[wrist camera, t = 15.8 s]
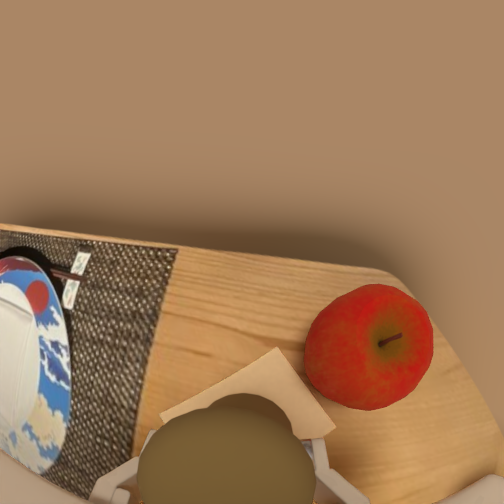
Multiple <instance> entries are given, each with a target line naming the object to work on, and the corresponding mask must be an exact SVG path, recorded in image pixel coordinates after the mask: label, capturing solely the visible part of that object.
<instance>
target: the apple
mask: <svg viewBox="0 0 504 504" xmlns="http://www.w3.org/2000/svg"><path fill="white" fill-rule="evenodd" d="M432 357H433V328H432V325H431V323H430V320H429V317H428V314H427V312H426V310H425V309H424V308H423V307H422V306H421V305H420V303H419V302H418V301H416V300H415V299H413V298H412V297H410V296H408V295H407V294H405V293H404V292H402V291H401V290H399V289H397V288H395V287H392V286H387V285H382V284H369V285H365V286H362V287H359V288H357V289H355V290H353V291H351V292H349V293H347V294H345V295H342V296H340V297H338V298H336V299H335V300H334V301H333V302H332V303H330V304H329V305H328V306H327V307H326V308H325V309H323V310H322V311H321V312H320V313H319V314H318V316H317V317H316V319H315V320H314V322H313V323H312V325H311V328H310V331H309V333H308V336H307V339H306V344H305V355H304V364H305V371H306V375H307V376H308V378H309V380H310V382H311V384H312V385H313V386H314V387H315V388H316V389H317V390H318V391H319V392H320V393H321V394H322V395H323V396H325V397H326V398H328V399H331V400H333V401H335V402H337V403H339V404H342V405H344V406H346V407H348V408H353V409H359V410H365V411H371V410H375V409H380V408H384V407H387V406H389V405H391V404H393V403H395V402H397V401H399V400H401V399H402V398H404V397H406V396H407V395H408V394H409V393H410V392H412V391H413V390H414V389H415V388H416V386H417V385H418V383H419V382H420V380H421V379H422V377H423V376H424V374H425V373H426V371H427V370H428V368H429V366H430V363H431V360H432Z"/></svg>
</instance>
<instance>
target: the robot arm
mask: <svg viewBox="0 0 504 504" xmlns="http://www.w3.org/2000/svg"><path fill="white" fill-rule="evenodd" d="M156 431H157V430H155V429H151V430H150V431H149V433H148V435H147V438H146V440H145V443H144V445H143V448H142V450H141V453H142V452H143V450H144V448H145V446H146V445H147V443H148V441H149V439H150V438H151V436H152V435H153V433H155V432H156ZM299 440H300V441H301V443H302V444H303V446H304V448H305V449H306V451H307V452H308V454H309V456H310V457H311V459H312V460H313V465H314V471H315V476H316V482H317V483H316V489H315V494H314V498H313V499H314V500H315V501H316V502H317V503H318V504H370V500H369V498H367V497H366V496H365V495H364V494H363V493H361V492H360V491H359V490H358V489H356V488H355V487H354V486H353V485H352V484H350V483H349V482H348V481H347V480H346V479H345V478H343V477H342V476H341V475H340V474H339V473H338V472H337V471H335V470H334V469H330V467H329V462H328V456H327V451H326V446H325V440H324V439H323V438H315V439H299ZM141 453H140V455H141ZM140 455H139V457H140ZM139 457H137V456H135V457H134V458H132V459H130V460H129V461H127V462H126V463H124V464H122V465H121V466H119V467H117V468H116V469H114V470H112V471H111V472H109V473H107V474H106V475H104V476H102V477H100V478H99V479H97V481H96V484H95V486H94V488H93V490H92V492H91V494H90V497H89V499H88V501H87V500H85V499H83V498H81V497H79V496H76V495H74V494H72V493H70V492H68V491H66V490H65V489H63V488H61V487H59V486H57V485H55V484H53V483H52V482H50V481H48V480H46V479H45V478H43V477H41V476H40V475H38V474H37V473H35V472H33V471H32V470H30V469H29V468H27V467H26V466H24V465H23V464H21V463H20V462H18V461H17V460H16V459H14V458H13V457H12V456H10V455H9V454H8V453H6V452H5V451H4V450H2V449H1V448H0V504H140V503H139V502H140V501H142V498H141V494H140V490H139V487H138V483H137V470H138V462H139ZM433 504H504V477H501V476H498V475H495V474H489V475H486V476H485V477H483V478H481V479H480V480H478V481H476V482H474V483H473V484H471V485H469V486H467V487H466V488H464V489H462V490H460V491H458V492H456V493H454V494H452V495H450V496H448V497H446V498H444V499H442V500H439V501H437V502H435V503H433Z"/></svg>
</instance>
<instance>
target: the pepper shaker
mask: <svg viewBox="0 0 504 504" xmlns="http://www.w3.org/2000/svg"><path fill="white" fill-rule="evenodd" d="M137 483H138V487H139V490H140V494H141V498H142V501H143V503H144V504H312V502H313V498H314V494H315V489H316V483H317V482H316V476H315V471H314V465H313V460H312V459H311V457H310V456H309V454H308V452H307V451H306V449H305V448H304V446H303V444H302V443H301V441H300V440H299V439H298V438H297V437H296V436H295V435H294V434H293V431H292V426H291V422H290V420H289V419H288V417H287V415H286V414H285V412H284V411H283V410H282V409H281V408H280V407H279V406H278V405H276V404H275V403H274V402H273V401H271V400H269V399H267V398H264V397H262V396H260V395H255V394H248V393H239V394H231V395H227V396H225V397H222V398H220V399H218V400H216V401H214V402H213V403H212V404H211V405H210V406H208V407H207V408H202V409H195V410H193V411H190V412H188V413H185V414H183V415H180V416H177V417H175V418H172V419H171V420H169V421H168V422H167V423H166V424H165V425H163V426H162V427H161V428H160V429H158V430H157V431H156V432H155V433H153V435H152V436H151V438H150V439H149V441H148V443H147V445H146V446H145V448H144V450H143V452H142V453H141V455H140V457H139V462H138V470H137Z"/></svg>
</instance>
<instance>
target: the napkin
mask: <svg viewBox="0 0 504 504" xmlns="http://www.w3.org/2000/svg"><path fill="white" fill-rule="evenodd" d="M239 393H248V394H255V395H260V396H262V397H264V398H267V399H269V400H271V401H273V402H274V403H275V404H276V405H278V406H279V407H280V408H281V409H282V410H283V411H284V412H285V414H286V415H287V417H288V419H289V420H290V422H291V426H292V431H293V434H294V435H295V436H296V437H297V438H298V439H315V438H322V437H324V436H325V435H327V434H328V433H329V432H331V431H332V430H333V429H335V428H336V425H335V424H334V423H333V421H332V420H331V419H330V417H329V416H328V415H327V413H326V412H325V411H324V409H323V408H322V407H321V405H320V404H319V403H318V401H317V400H316V399H315V397H314V396H313V395H312V393H311V392H310V391H309V389H308V388H307V387H306V385H305V384H304V383H303V381H302V380H301V378H300V377H299V376H298V374H297V373H296V372H295V370H294V369H293V367H292V366H291V365H290V363H289V362H288V360H287V359H286V358H285V356H284V355H283V354H282V352H281V351H280V349H279V348H278V347H276V348H274V349H272V350H271V351H269V352H268V353H266V354H265V355H263V356H262V357H260V358H258V359H257V360H255V361H254V362H252V363H250V364H249V365H247V366H245V367H244V368H242V369H241V370H239V371H237V372H236V373H234V374H232V375H230V376H229V377H227V378H225V379H224V380H222V381H220V382H218V383H217V384H215V385H213V386H211V387H209V388H208V389H206V390H204V391H202V392H200V393H199V394H197V395H195V396H193V397H191V398H189V399H187V400H185V401H183V402H182V403H180V404H178V405H176V406H174V407H172V408H170V409H168V410H166V411H164V412H162V413H160V414H159V416H160V417H161V419H162V421H163V422H164V424H166V423H167V422H168V421H169V420H171V419H172V418H175V417H177V416H180V415H183V414H185V413H188V412H190V411H193V410H195V409H202V408H207V407H208V406H210V405H211V404H212V403H213V402H214V401H216V400H218V399H220V398H222V397H225V396H227V395H231V394H239Z"/></svg>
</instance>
